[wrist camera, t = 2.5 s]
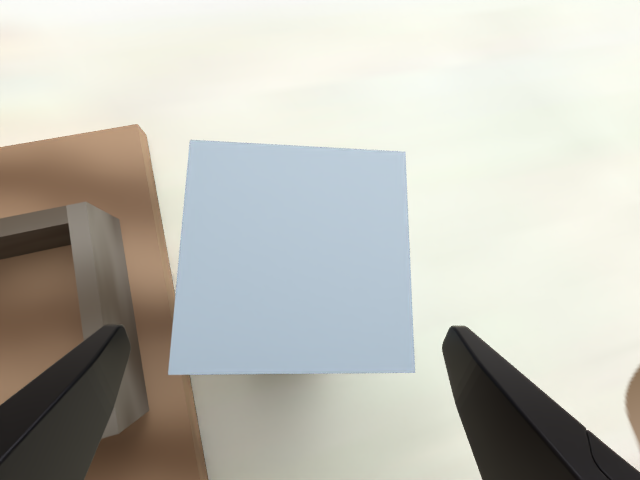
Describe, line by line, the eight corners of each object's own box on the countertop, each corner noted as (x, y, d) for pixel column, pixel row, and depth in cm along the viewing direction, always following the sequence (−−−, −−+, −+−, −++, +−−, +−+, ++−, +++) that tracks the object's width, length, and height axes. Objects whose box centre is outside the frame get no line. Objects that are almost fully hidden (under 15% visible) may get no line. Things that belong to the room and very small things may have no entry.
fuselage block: (330, 330, 19) (414, 372, 7) (246, 330, 18) (168, 374, 6) (331, 248, 20) (405, 151, 7) (251, 246, 19) (189, 139, 7)
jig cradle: (212, 503, 16) (188, 567, 12) (-90, 604, 15) (-236, 719, 11) (146, 134, 20) (109, 89, 16) (-107, 178, 18) (-223, 141, 14)
